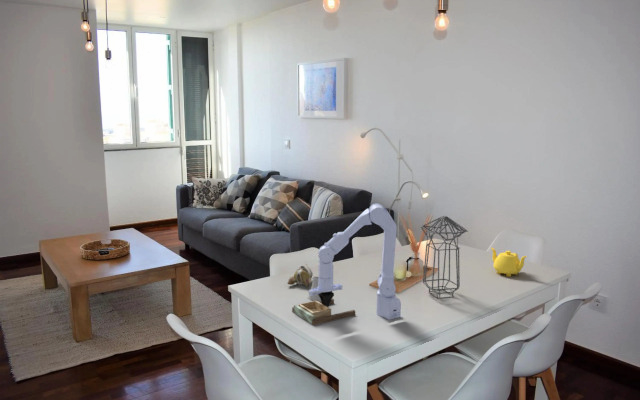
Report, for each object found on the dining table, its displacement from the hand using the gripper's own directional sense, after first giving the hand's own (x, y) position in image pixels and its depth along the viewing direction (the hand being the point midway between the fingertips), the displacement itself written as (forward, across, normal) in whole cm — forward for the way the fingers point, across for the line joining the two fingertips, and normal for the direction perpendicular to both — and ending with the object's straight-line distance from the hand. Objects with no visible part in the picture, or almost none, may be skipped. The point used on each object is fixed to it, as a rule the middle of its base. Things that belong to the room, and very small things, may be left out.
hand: (325, 309), depth 210 cm
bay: (+2, +1, 0) cm, 2 cm away
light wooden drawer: (+1, +5, 0) cm, 5 cm away
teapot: (+2, -106, +2) cm, 107 cm away
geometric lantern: (+2, -56, +7) cm, 56 cm away
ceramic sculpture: (+2, -12, -38) cm, 39 cm away
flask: (+2, -6, -16) cm, 17 cm away
